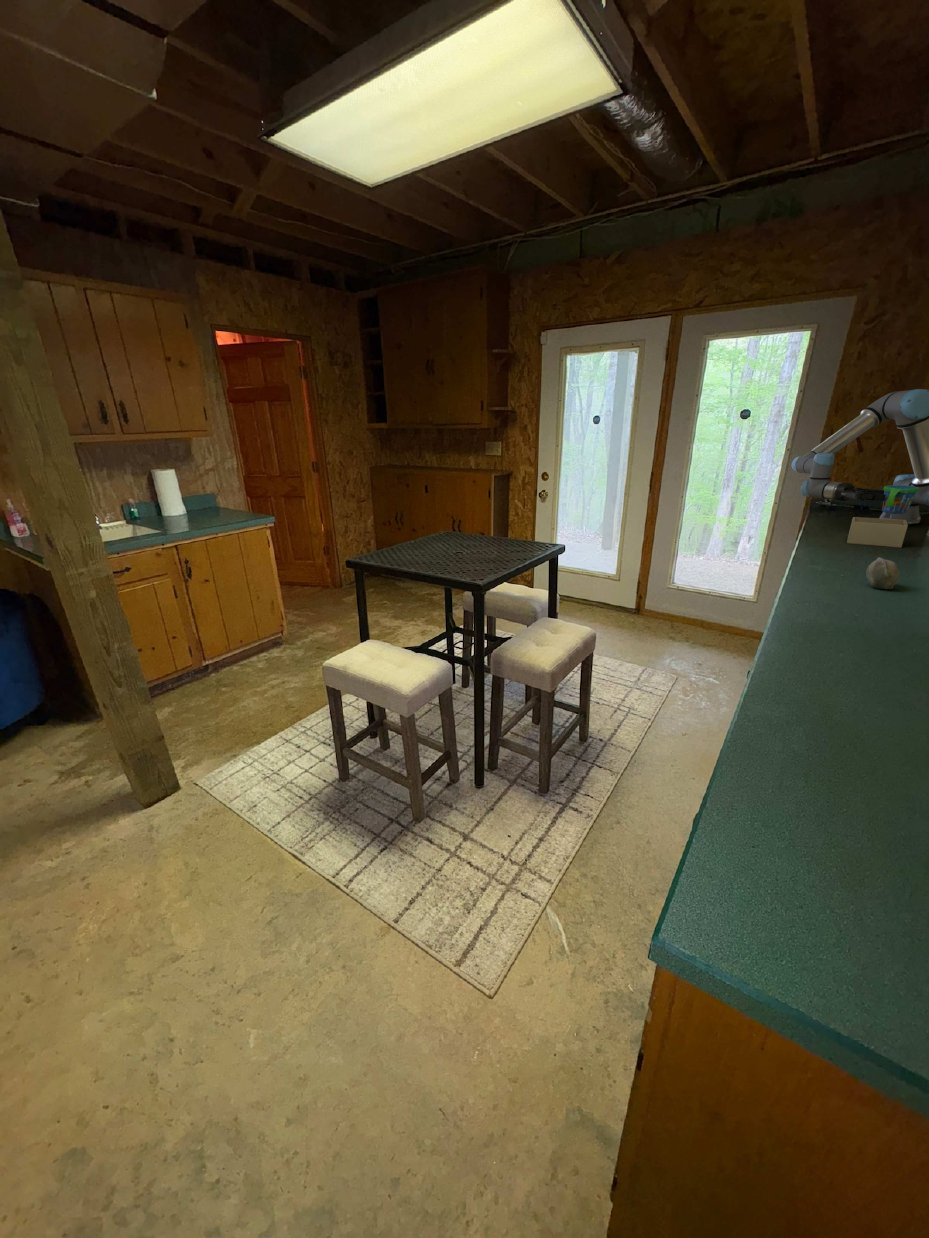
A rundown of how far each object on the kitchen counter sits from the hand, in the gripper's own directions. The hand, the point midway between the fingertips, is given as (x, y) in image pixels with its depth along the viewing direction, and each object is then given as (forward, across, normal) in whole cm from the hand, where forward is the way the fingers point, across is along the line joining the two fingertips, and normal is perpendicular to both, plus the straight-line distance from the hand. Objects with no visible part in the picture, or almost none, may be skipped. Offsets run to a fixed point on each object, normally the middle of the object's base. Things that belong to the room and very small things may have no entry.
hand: (894, 496), depth 194 cm
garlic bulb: (+34, +61, -20) cm, 72 cm away
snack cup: (+2, +1, -6) cm, 7 cm away
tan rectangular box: (-3, 0, -19) cm, 20 cm away
